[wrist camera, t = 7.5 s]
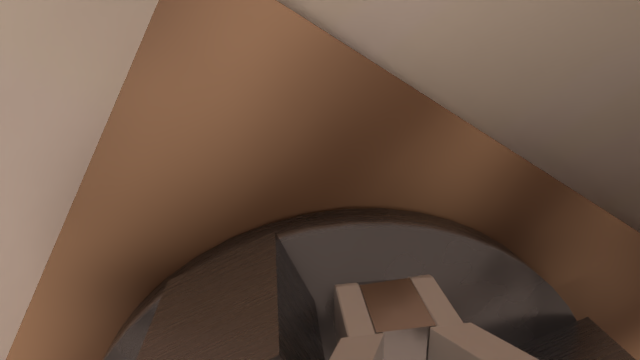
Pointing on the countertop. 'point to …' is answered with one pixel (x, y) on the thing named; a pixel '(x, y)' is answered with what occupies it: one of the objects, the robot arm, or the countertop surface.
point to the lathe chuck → (341, 268)
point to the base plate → (293, 174)
